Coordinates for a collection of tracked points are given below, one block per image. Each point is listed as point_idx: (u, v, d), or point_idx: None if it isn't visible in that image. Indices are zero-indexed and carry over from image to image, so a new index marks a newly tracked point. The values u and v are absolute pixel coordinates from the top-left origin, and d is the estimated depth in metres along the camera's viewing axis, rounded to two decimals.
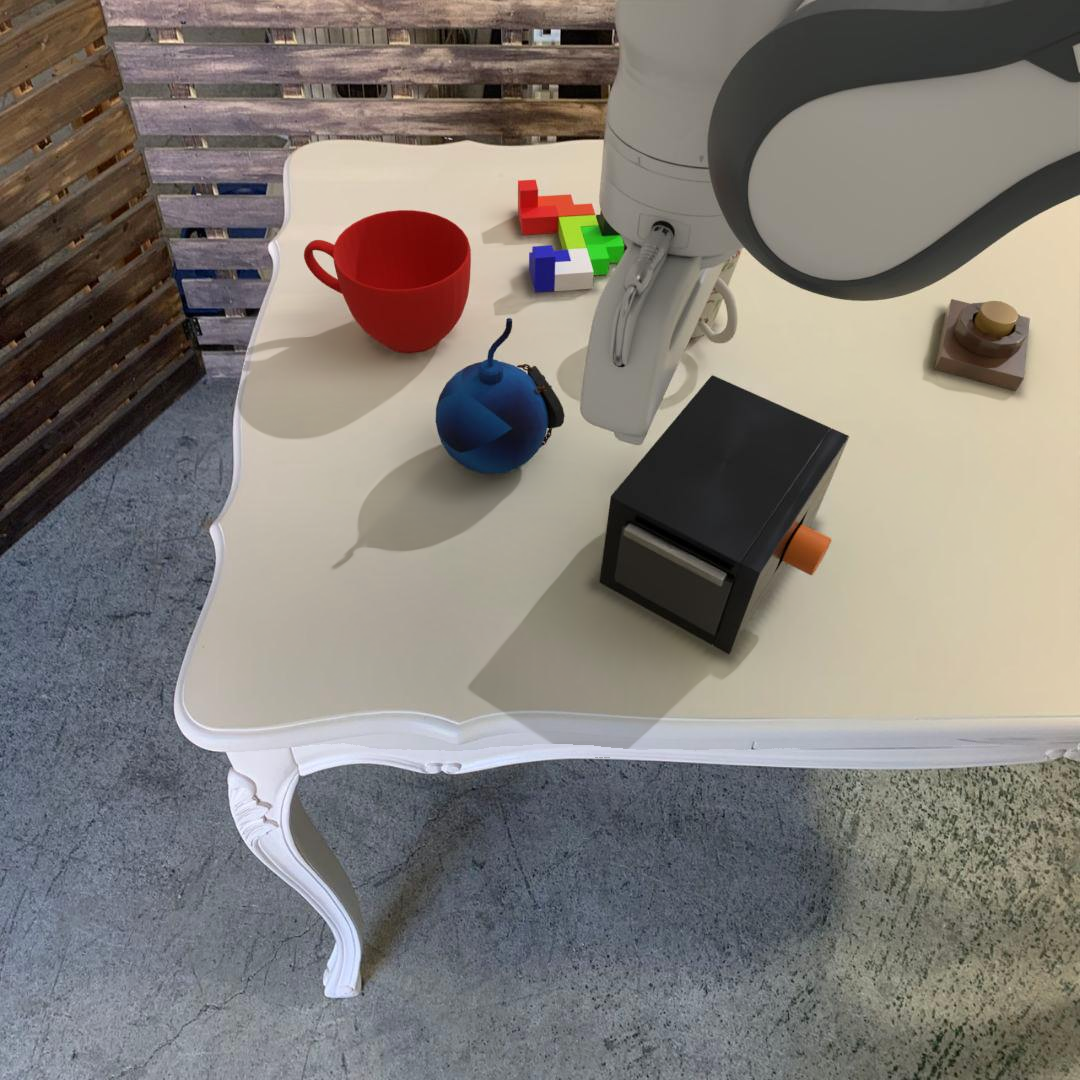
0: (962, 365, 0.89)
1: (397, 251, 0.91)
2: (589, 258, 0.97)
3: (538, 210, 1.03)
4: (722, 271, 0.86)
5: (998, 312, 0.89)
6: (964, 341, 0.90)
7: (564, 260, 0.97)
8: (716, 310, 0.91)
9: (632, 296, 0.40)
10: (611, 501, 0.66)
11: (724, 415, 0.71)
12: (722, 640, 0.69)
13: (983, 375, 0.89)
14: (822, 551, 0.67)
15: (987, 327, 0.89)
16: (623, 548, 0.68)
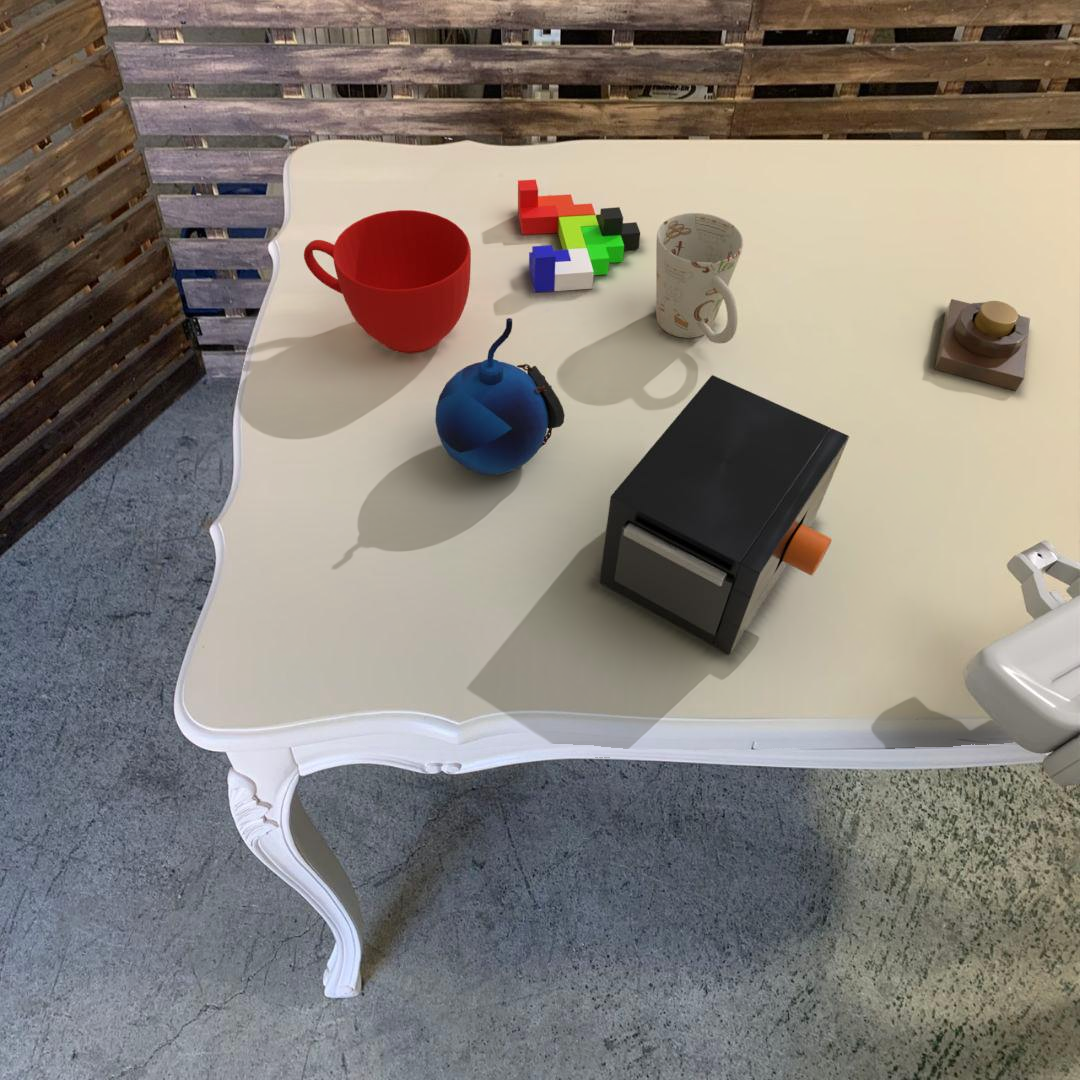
0: (962, 365, 0.89)
1: (397, 251, 0.91)
2: (589, 258, 0.97)
3: (538, 210, 1.03)
4: (722, 271, 0.86)
5: (998, 312, 0.89)
6: (964, 341, 0.90)
7: (564, 260, 0.97)
8: (716, 310, 0.91)
9: None
10: (611, 501, 0.66)
11: (724, 415, 0.71)
12: (722, 640, 0.69)
13: (983, 375, 0.89)
14: (822, 551, 0.67)
15: (987, 327, 0.89)
16: (623, 548, 0.68)
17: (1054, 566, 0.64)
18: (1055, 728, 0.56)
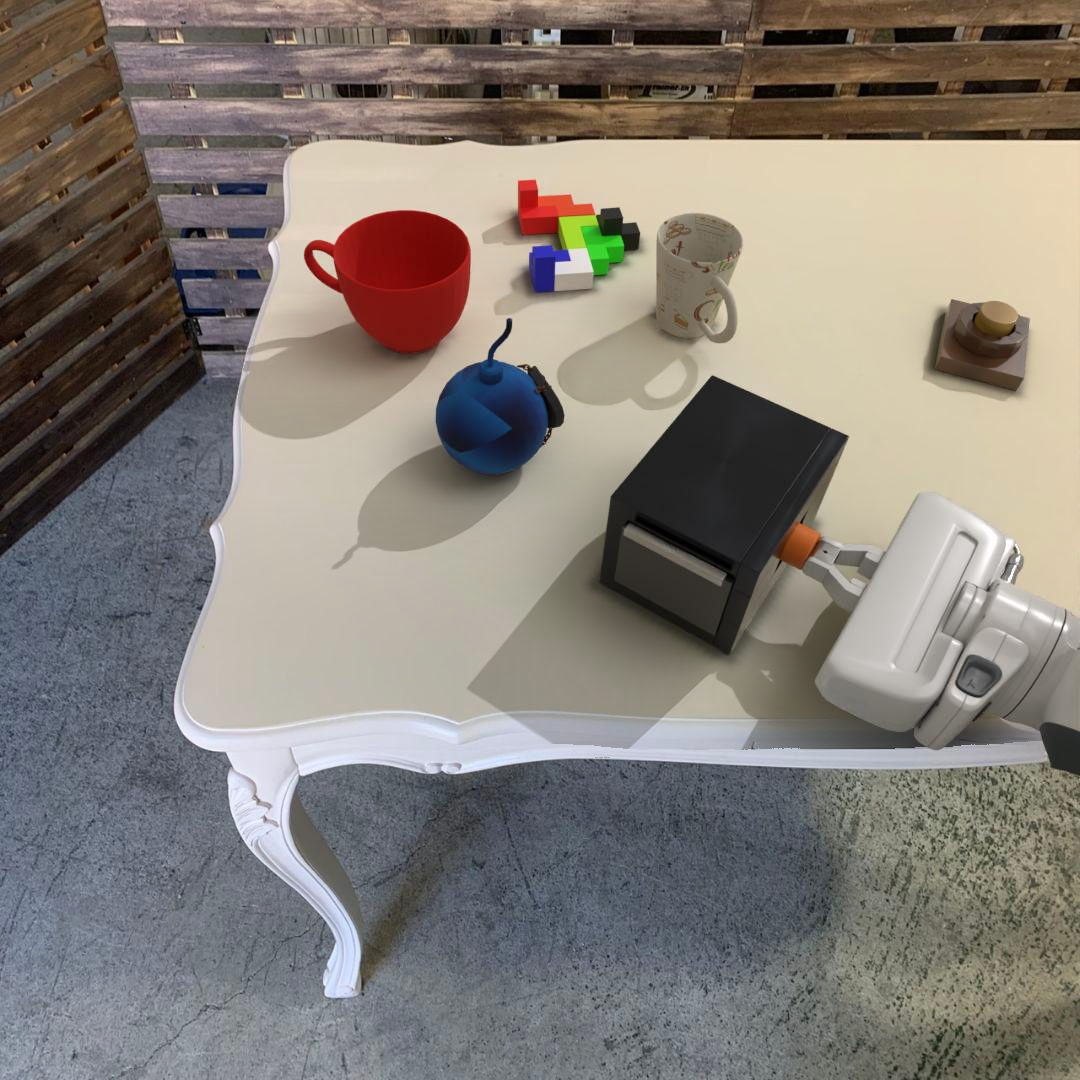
0: (962, 365, 0.89)
1: (397, 251, 0.91)
2: (589, 258, 0.97)
3: (538, 210, 1.03)
4: (722, 271, 0.86)
5: (998, 312, 0.89)
6: (964, 341, 0.90)
7: (564, 260, 0.97)
8: (716, 310, 0.91)
9: (1019, 551, 0.69)
10: (611, 501, 0.66)
11: (724, 415, 0.71)
12: (722, 640, 0.69)
13: (983, 375, 0.89)
14: (811, 546, 0.67)
15: (987, 327, 0.89)
16: (623, 548, 0.68)
17: (840, 556, 0.68)
18: (918, 705, 0.59)
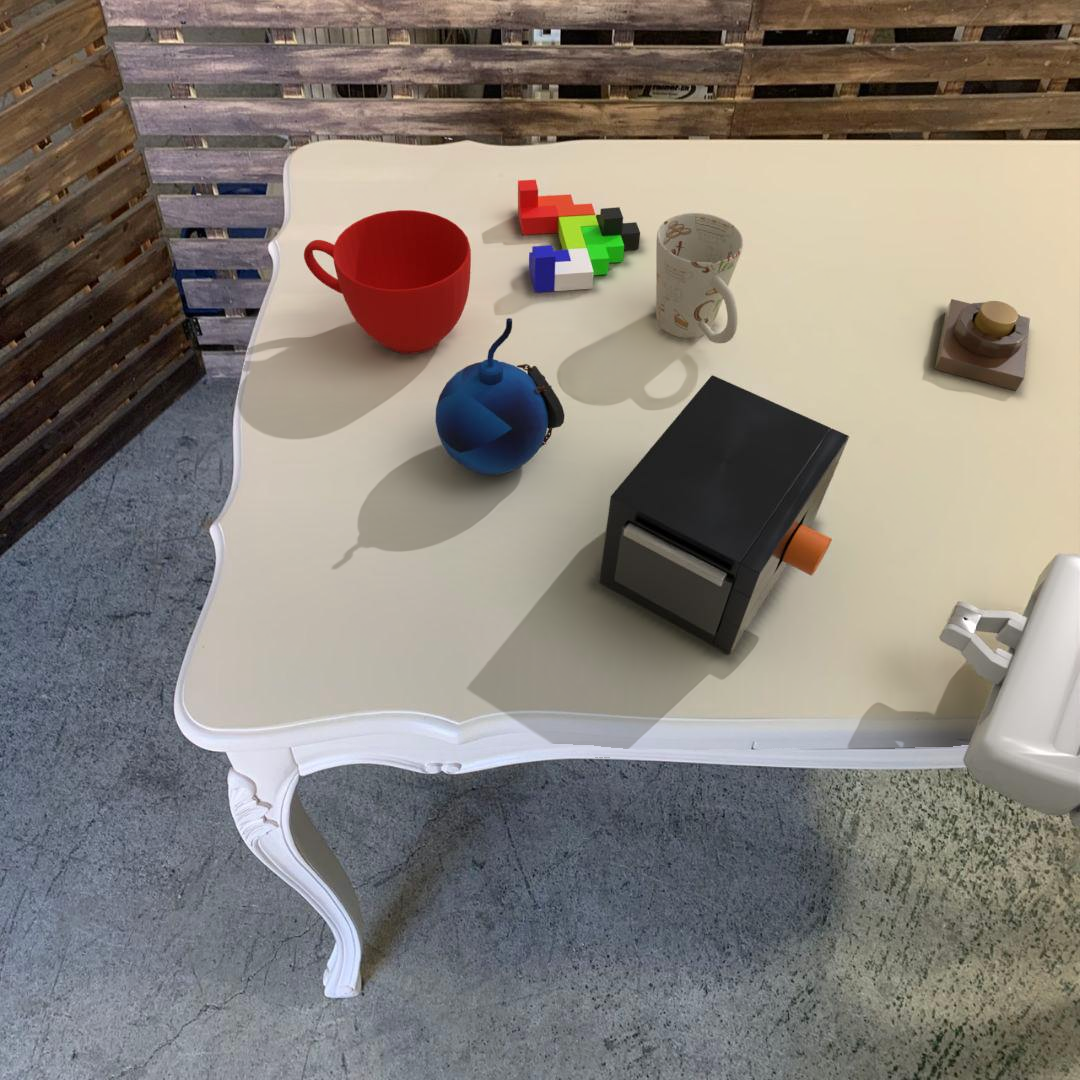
0: (962, 365, 0.89)
1: (397, 251, 0.91)
2: (589, 258, 0.97)
3: (538, 210, 1.03)
4: (722, 271, 0.86)
5: (998, 312, 0.89)
6: (964, 341, 0.90)
7: (564, 260, 0.97)
8: (716, 310, 0.91)
9: None
10: (611, 501, 0.66)
11: (724, 415, 0.71)
12: (722, 640, 0.69)
13: (983, 375, 0.89)
14: (822, 551, 0.67)
15: (987, 327, 0.89)
16: (623, 548, 0.68)
17: (979, 622, 0.65)
18: None
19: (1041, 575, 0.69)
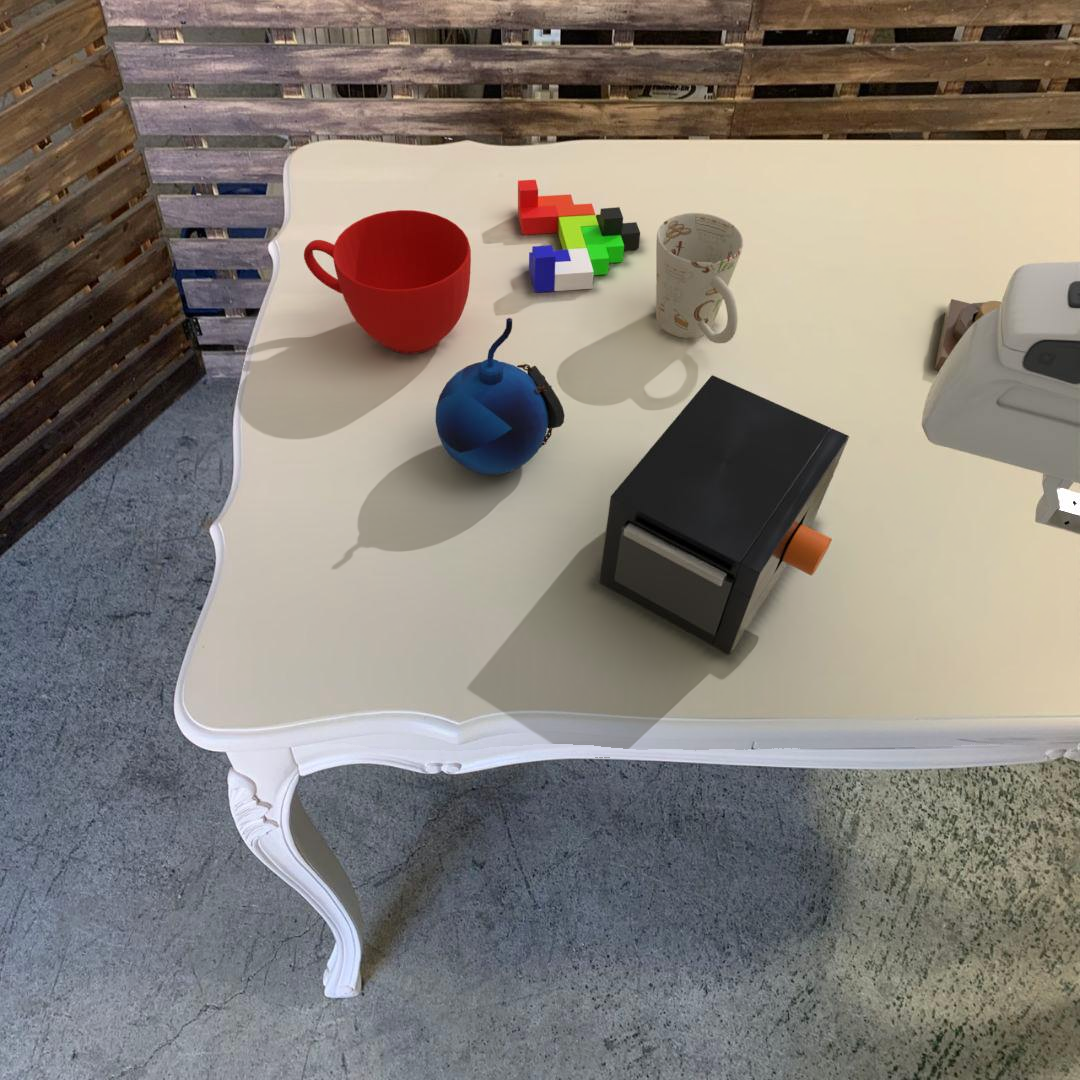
0: None
1: (397, 251, 0.91)
2: (589, 258, 0.97)
3: (538, 210, 1.03)
4: (722, 271, 0.86)
5: None
6: None
7: (564, 260, 0.97)
8: (716, 310, 0.91)
9: None
10: (611, 501, 0.66)
11: (724, 415, 0.71)
12: (722, 640, 0.69)
13: None
14: (822, 551, 0.67)
15: None
16: (623, 548, 0.68)
17: None
18: (981, 319, 0.49)
19: None
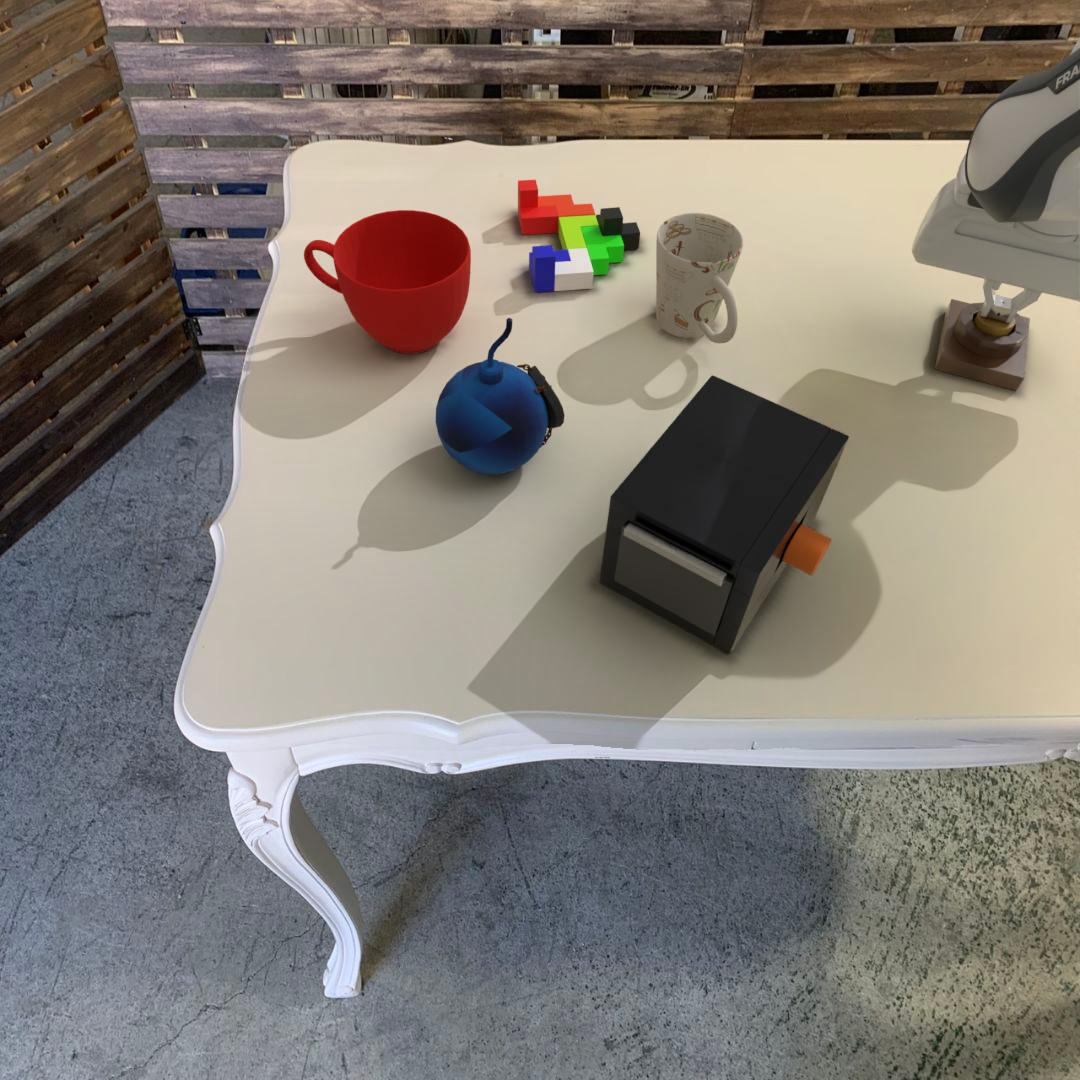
0: (962, 365, 0.89)
1: (397, 251, 0.91)
2: (589, 258, 0.97)
3: (538, 210, 1.03)
4: (722, 271, 0.86)
5: None
6: (964, 341, 0.90)
7: (564, 260, 0.97)
8: (716, 310, 0.91)
9: None
10: (611, 501, 0.66)
11: (724, 415, 0.71)
12: (722, 640, 0.69)
13: (983, 375, 0.89)
14: (822, 551, 0.67)
15: (984, 332, 0.90)
16: (623, 548, 0.68)
17: (1013, 301, 0.88)
18: (946, 184, 0.84)
19: None
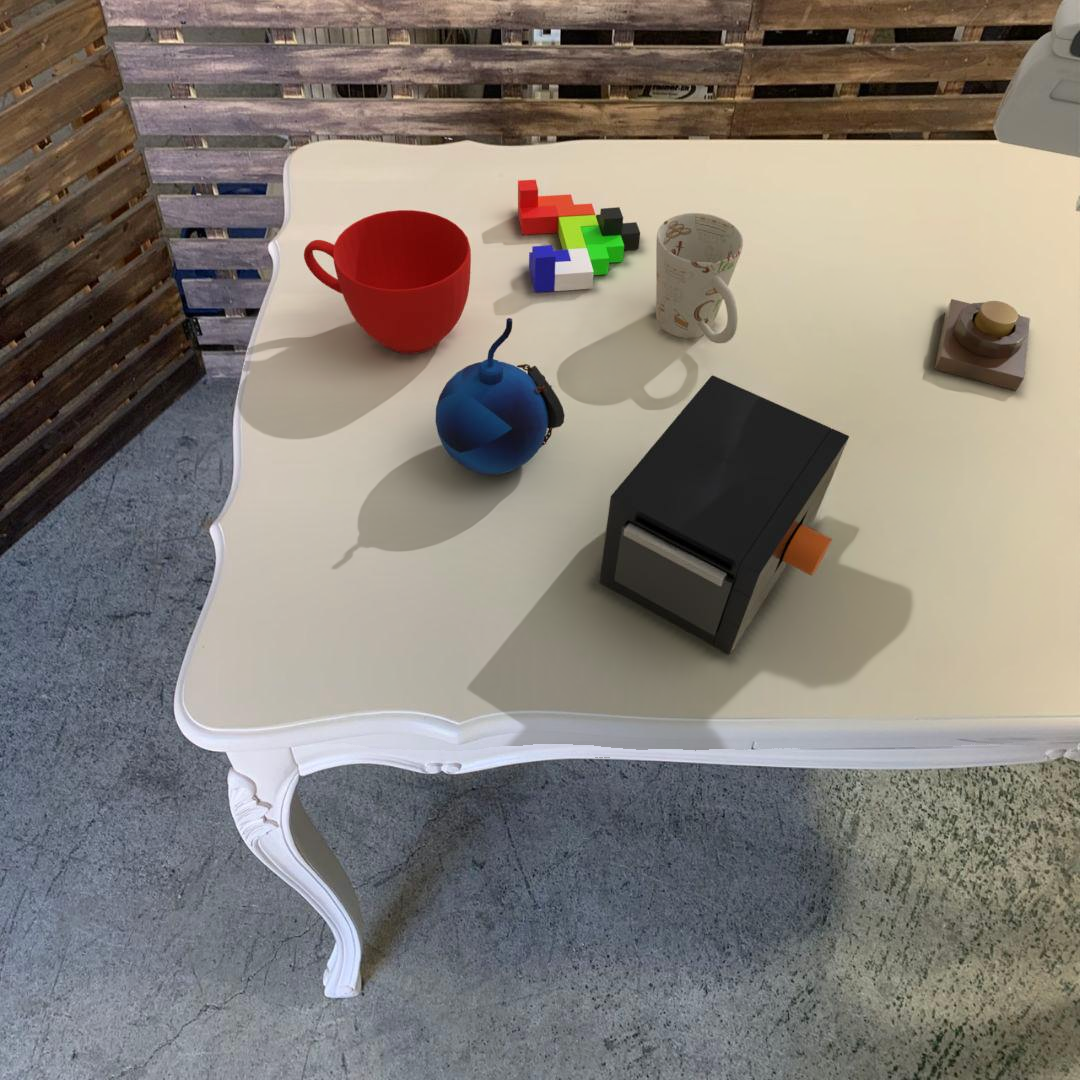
0: (962, 365, 0.89)
1: (397, 251, 0.91)
2: (589, 258, 0.97)
3: (538, 210, 1.03)
4: (722, 271, 0.86)
5: (998, 312, 0.89)
6: (964, 341, 0.90)
7: (564, 260, 0.97)
8: (716, 310, 0.91)
9: None
10: (611, 501, 0.66)
11: (724, 415, 0.71)
12: (722, 640, 0.69)
13: (983, 375, 0.89)
14: (822, 551, 0.67)
15: (987, 327, 0.89)
16: (623, 548, 0.68)
17: None
18: (1038, 40, 0.68)
19: None
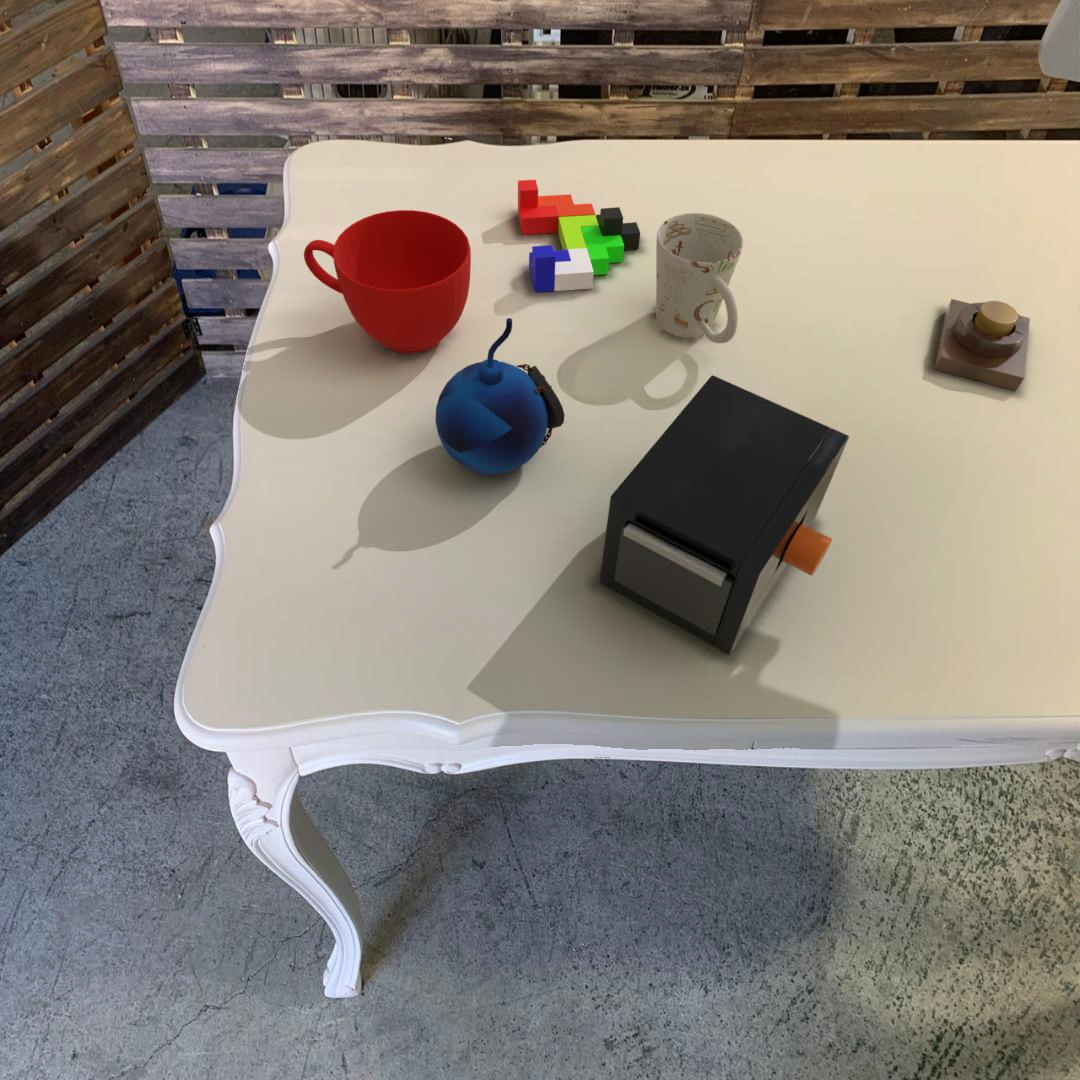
0: (962, 365, 0.89)
1: (397, 251, 0.91)
2: (589, 258, 0.97)
3: (538, 210, 1.03)
4: (722, 271, 0.86)
5: (998, 312, 0.89)
6: (964, 341, 0.90)
7: (564, 260, 0.97)
8: (716, 310, 0.91)
9: None
10: (611, 501, 0.66)
11: (724, 415, 0.71)
12: (722, 640, 0.69)
13: (983, 375, 0.89)
14: (822, 551, 0.67)
15: (987, 327, 0.89)
16: (623, 548, 0.68)
17: None
18: None
19: None
